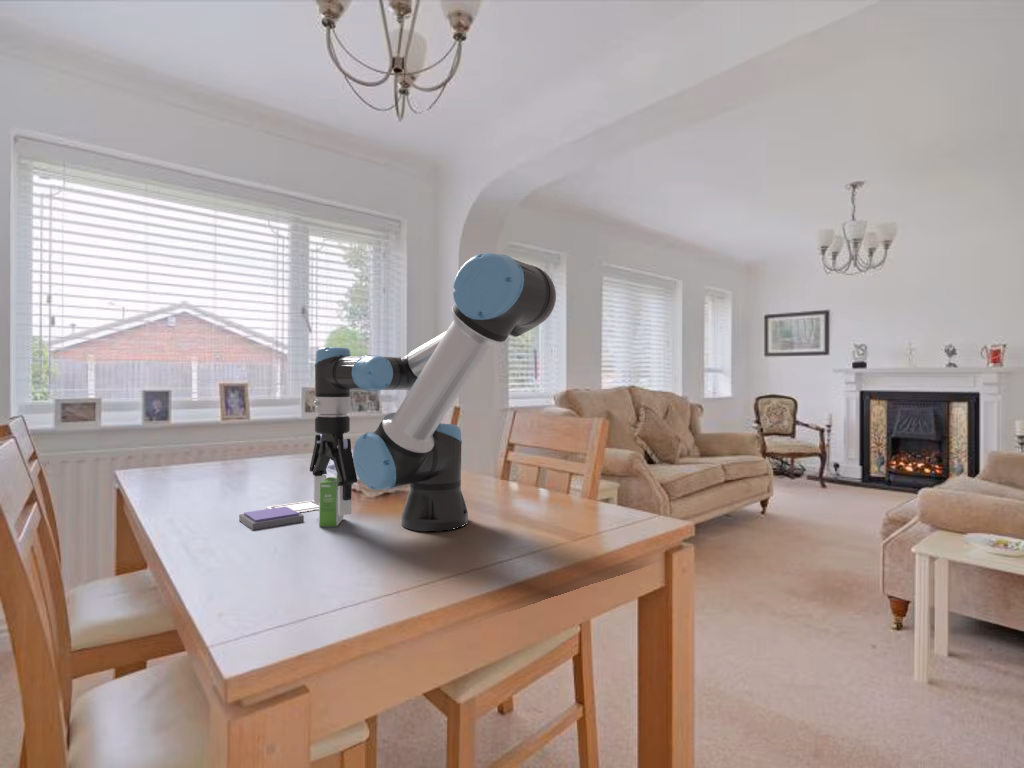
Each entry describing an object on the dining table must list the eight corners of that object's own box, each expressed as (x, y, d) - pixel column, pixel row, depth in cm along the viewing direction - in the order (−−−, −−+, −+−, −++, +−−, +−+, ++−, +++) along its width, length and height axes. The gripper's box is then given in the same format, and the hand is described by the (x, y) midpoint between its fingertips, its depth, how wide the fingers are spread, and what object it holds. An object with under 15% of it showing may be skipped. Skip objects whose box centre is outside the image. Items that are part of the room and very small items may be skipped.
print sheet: (328, 508, 137) (328, 506, 137) (279, 516, 129) (279, 514, 129) (313, 501, 145) (313, 499, 145) (265, 508, 137) (266, 506, 137)
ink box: (326, 519, 127) (327, 461, 127) (344, 518, 127) (344, 461, 127) (318, 527, 120) (319, 466, 120) (337, 527, 120) (337, 466, 120)
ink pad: (303, 521, 124) (303, 513, 124) (252, 530, 117) (252, 521, 117) (288, 513, 132) (288, 505, 132) (239, 520, 125) (239, 512, 125)
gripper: (295, 412, 130) (295, 501, 130) (340, 419, 112) (339, 522, 112) (326, 411, 135) (325, 496, 135) (373, 418, 117) (372, 516, 117)
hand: (331, 508), depth 124 cm, fingers open, 13 cm apart
